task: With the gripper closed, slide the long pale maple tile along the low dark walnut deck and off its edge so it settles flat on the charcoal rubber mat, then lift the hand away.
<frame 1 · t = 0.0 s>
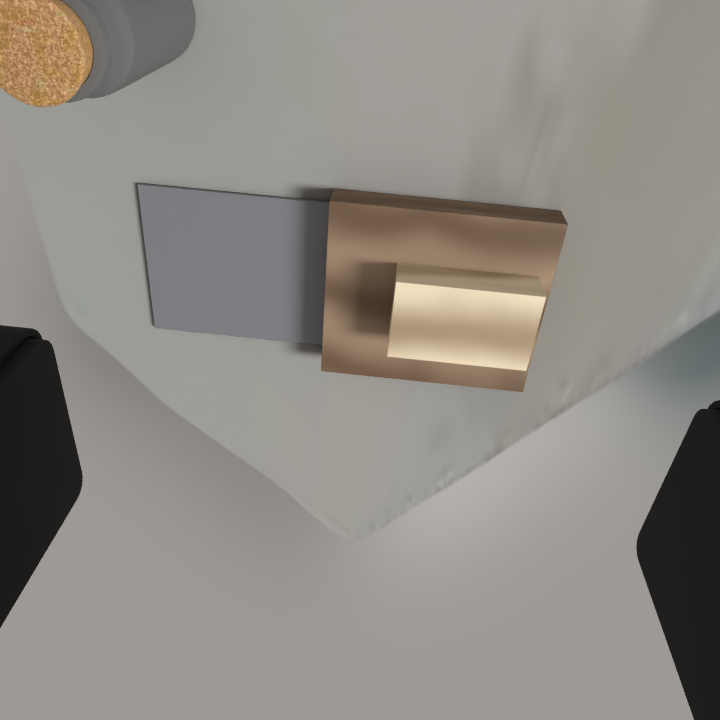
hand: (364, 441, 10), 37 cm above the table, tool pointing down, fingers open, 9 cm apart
rubber mat: (238, 268, 49), on the table
walnut deck: (433, 288, 49), on the table
maple tile: (461, 306, 47), point 2 cm above the table, touching walnut deck
bottle: (151, 12, 40), on the table
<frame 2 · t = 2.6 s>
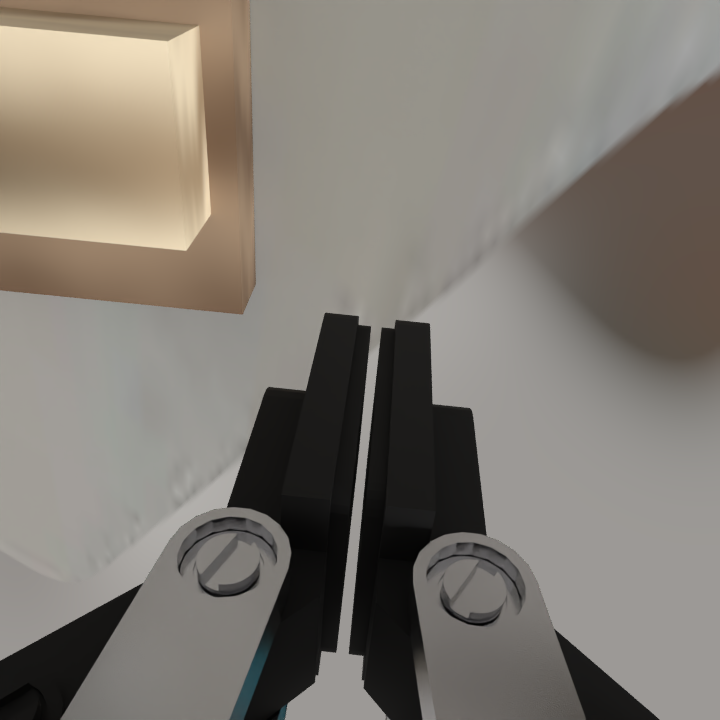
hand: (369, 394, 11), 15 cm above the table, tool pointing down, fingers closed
walnut deck: (31, 90, 23), on the table
maple tile: (54, 113, 21), point 2 cm above the table, touching walnut deck
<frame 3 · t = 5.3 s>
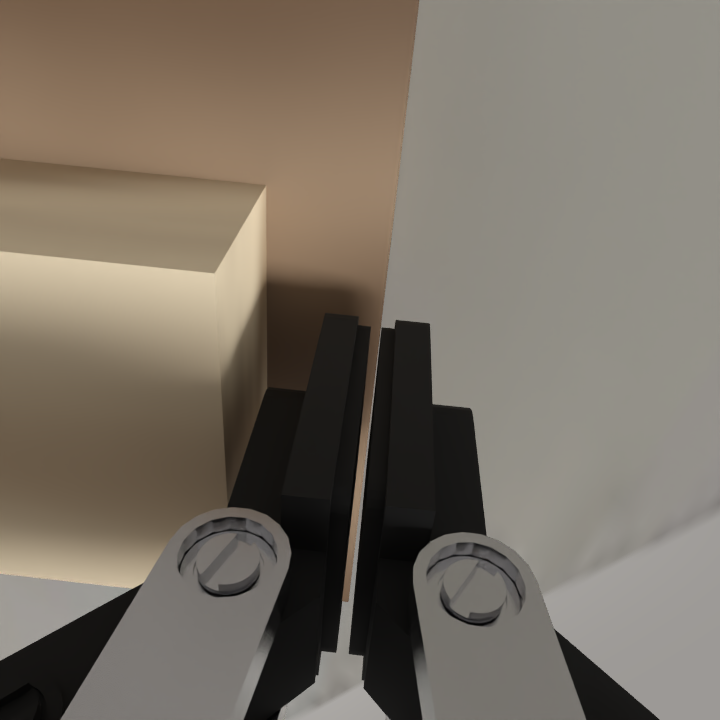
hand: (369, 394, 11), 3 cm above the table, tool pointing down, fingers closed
walnut deck: (6, 252, 14), on the table
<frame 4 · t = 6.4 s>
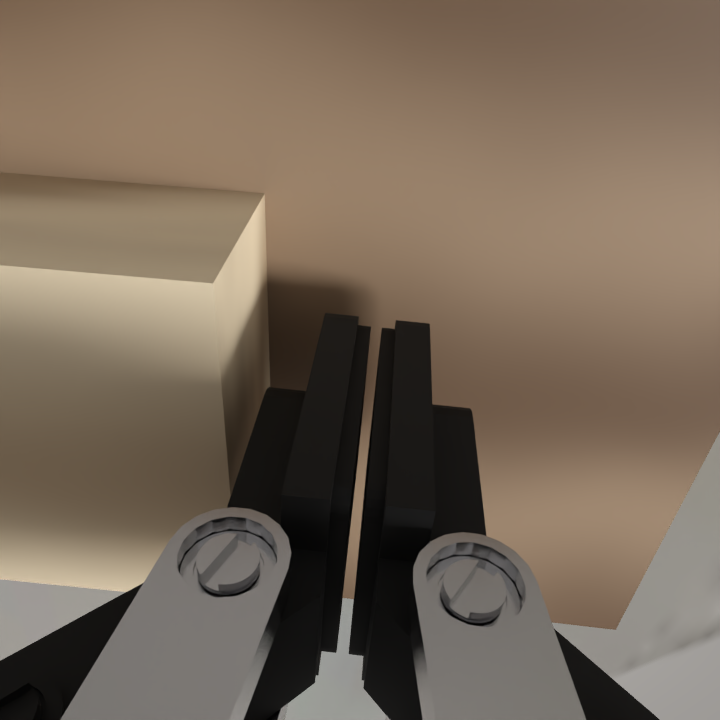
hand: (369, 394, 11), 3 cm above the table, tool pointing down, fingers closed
walnut deck: (306, 281, 13), on the table
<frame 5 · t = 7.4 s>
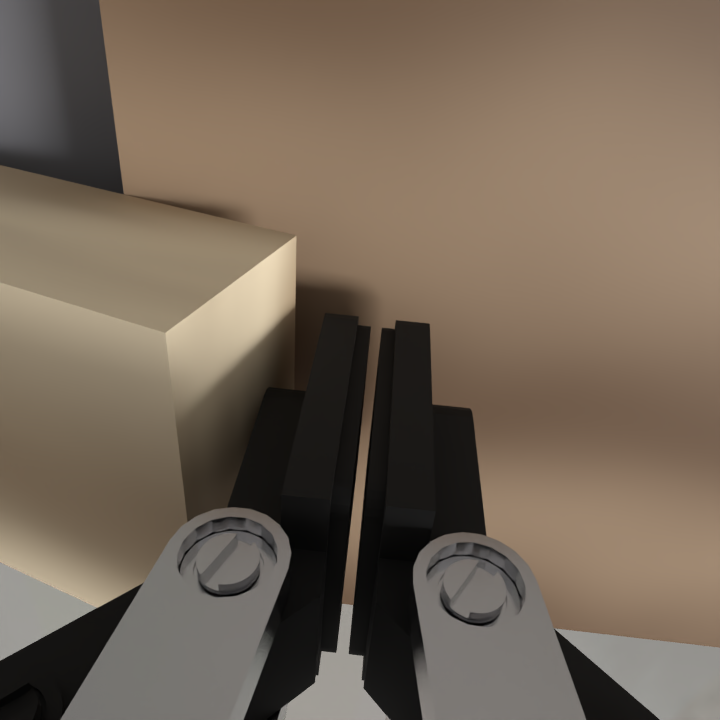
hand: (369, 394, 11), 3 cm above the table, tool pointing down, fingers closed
walnut deck: (564, 315, 13), on the table
maple tile: (59, 327, 12), point 2 cm above the table, tilted 18°, touching gripper
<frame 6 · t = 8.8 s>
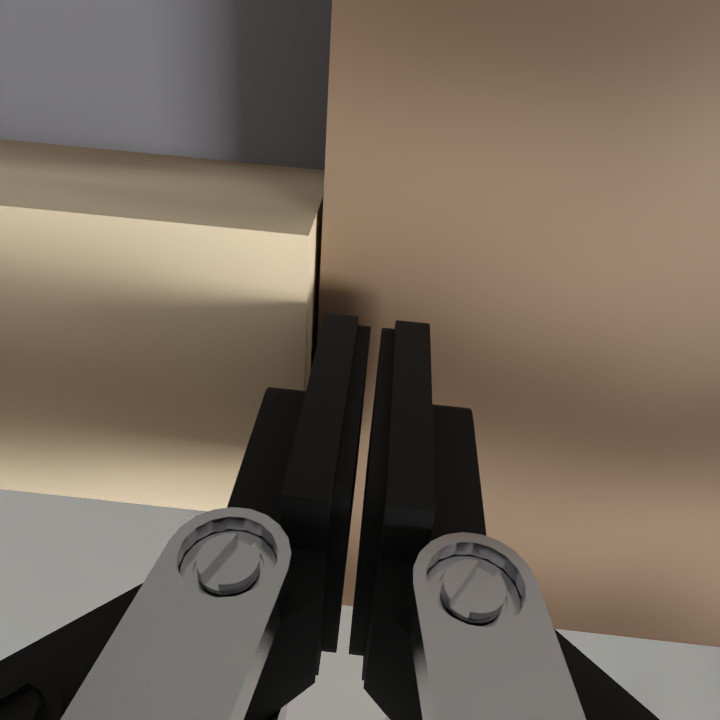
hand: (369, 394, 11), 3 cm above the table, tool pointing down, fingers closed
rubber mat: (3, 258, 14), on the table
walnut deck: (715, 330, 13), on the table
maple tile: (88, 289, 14), resting on rubber mat
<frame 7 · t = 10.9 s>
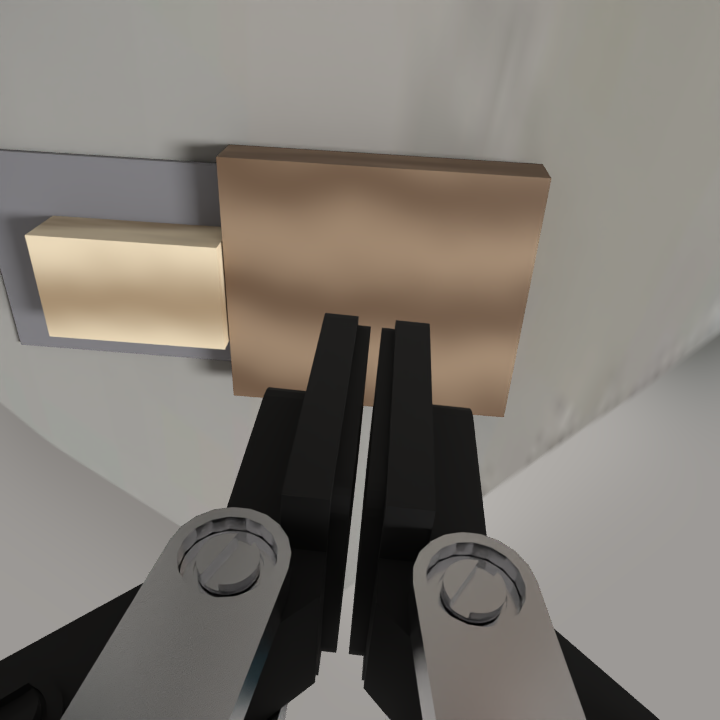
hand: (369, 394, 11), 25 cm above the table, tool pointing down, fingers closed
rubber mat: (117, 261, 37), on the table
walnut deck: (376, 280, 36), on the table
maple tile: (148, 271, 37), resting on rubber mat
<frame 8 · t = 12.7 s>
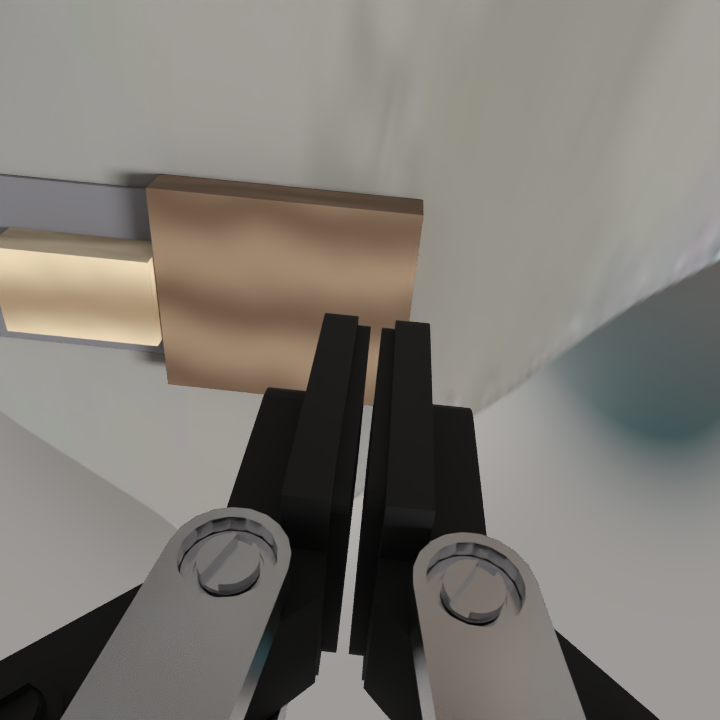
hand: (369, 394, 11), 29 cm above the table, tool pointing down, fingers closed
rubber mat: (67, 267, 43), on the table
walnut deck: (289, 289, 43), on the table
maple tile: (94, 276, 43), resting on rubber mat
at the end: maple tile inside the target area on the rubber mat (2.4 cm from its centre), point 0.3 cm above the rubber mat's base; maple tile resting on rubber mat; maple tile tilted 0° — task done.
